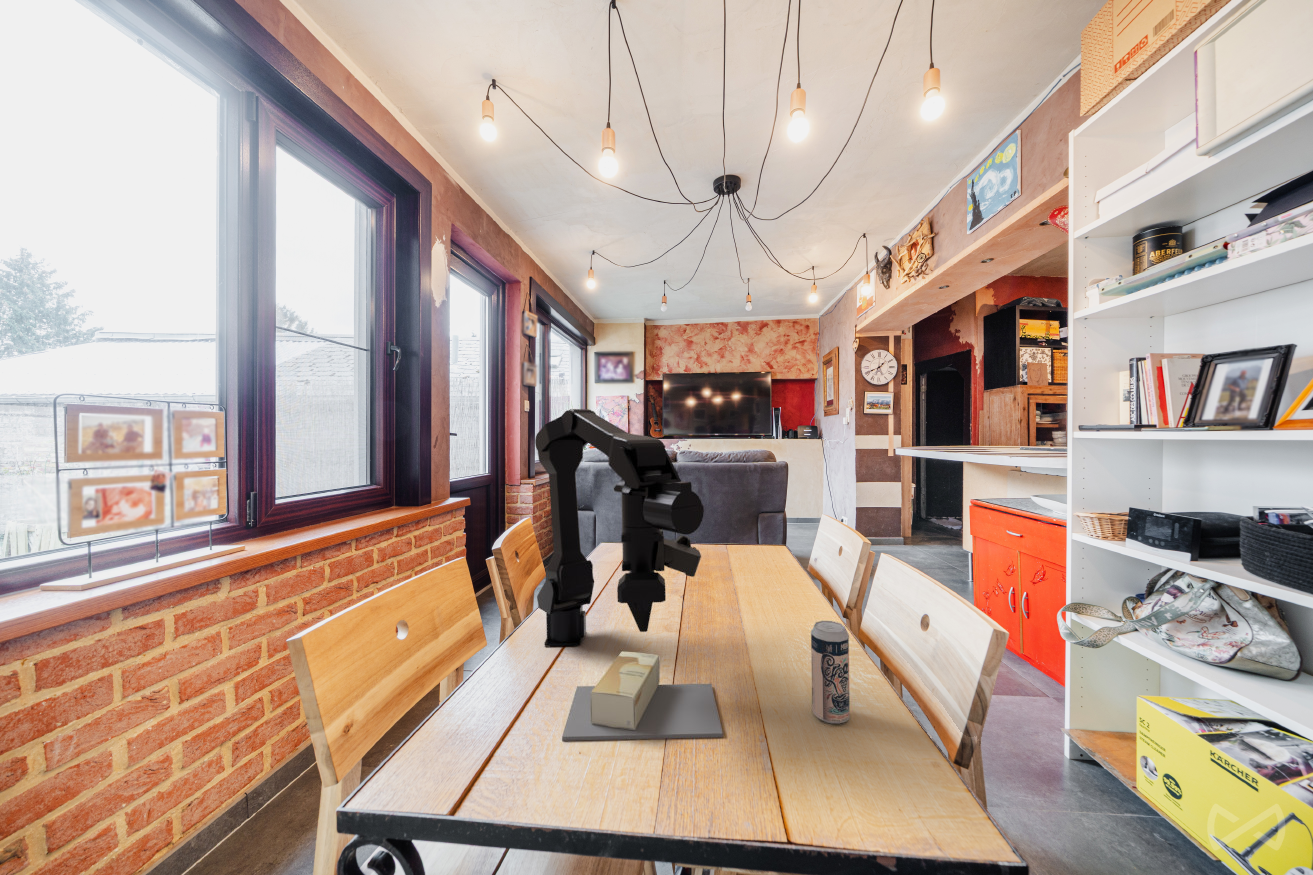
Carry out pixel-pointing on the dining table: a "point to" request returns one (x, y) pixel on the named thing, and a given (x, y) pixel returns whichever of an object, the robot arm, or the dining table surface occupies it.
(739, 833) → the dining table surface
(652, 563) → the robot arm
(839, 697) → the beer can
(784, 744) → the dining table surface
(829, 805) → the dining table surface
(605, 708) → the skincare box
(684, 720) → the mat
